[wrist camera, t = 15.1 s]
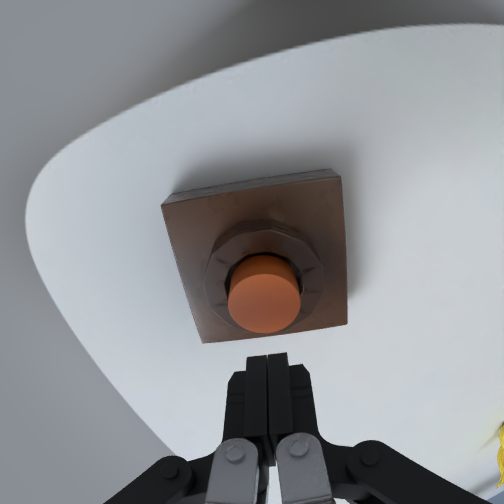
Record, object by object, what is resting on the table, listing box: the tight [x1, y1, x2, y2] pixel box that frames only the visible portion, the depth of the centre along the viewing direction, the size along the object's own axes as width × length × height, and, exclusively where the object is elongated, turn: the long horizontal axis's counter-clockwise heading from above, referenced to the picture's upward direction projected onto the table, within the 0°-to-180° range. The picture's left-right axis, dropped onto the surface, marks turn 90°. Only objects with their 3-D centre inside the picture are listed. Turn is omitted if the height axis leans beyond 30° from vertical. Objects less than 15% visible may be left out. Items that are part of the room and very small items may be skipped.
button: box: [228, 255, 301, 333], centre depth 17 cm, size 4×4×2 cm
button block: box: [161, 169, 348, 343], centre depth 19 cm, size 10×10×4 cm
